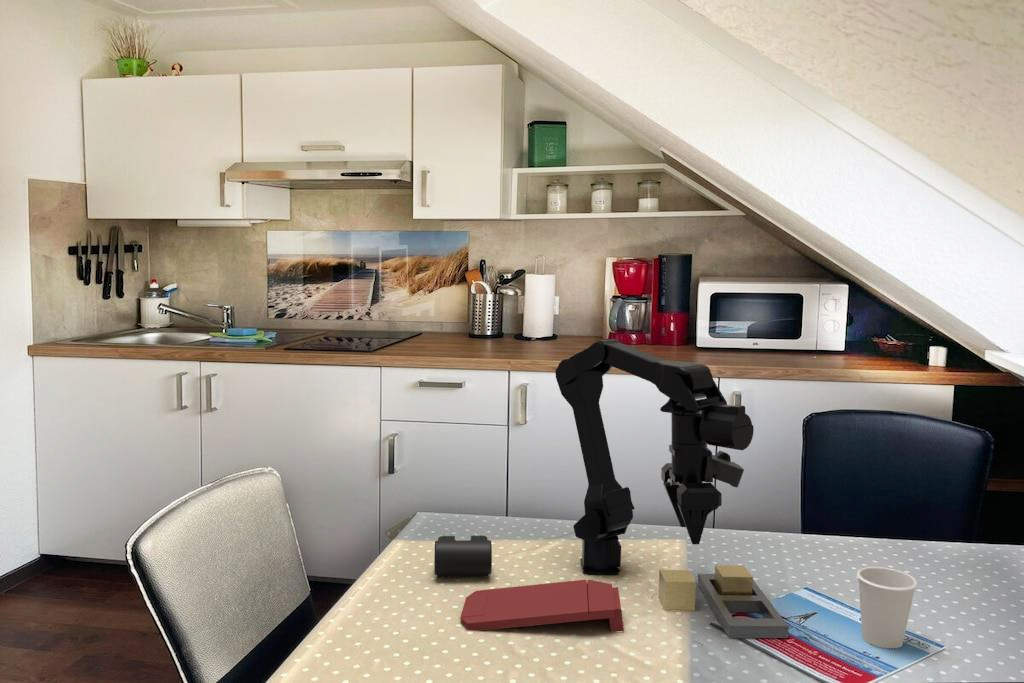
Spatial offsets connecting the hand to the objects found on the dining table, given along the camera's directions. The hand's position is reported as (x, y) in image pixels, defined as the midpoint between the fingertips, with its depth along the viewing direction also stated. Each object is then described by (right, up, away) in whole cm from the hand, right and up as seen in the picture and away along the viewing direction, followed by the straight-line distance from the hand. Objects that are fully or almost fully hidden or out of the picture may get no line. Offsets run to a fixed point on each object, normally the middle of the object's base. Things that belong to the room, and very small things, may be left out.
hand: (689, 535), depth 136 cm
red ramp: (-24, -13, -4) cm, 28 cm away
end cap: (-38, -10, +12) cm, 41 cm away
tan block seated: (+8, -12, +4) cm, 15 cm away
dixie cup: (+27, -14, -10) cm, 32 cm away
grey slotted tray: (+8, -12, 0) cm, 15 cm away
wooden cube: (-2, -12, +2) cm, 12 cm away
